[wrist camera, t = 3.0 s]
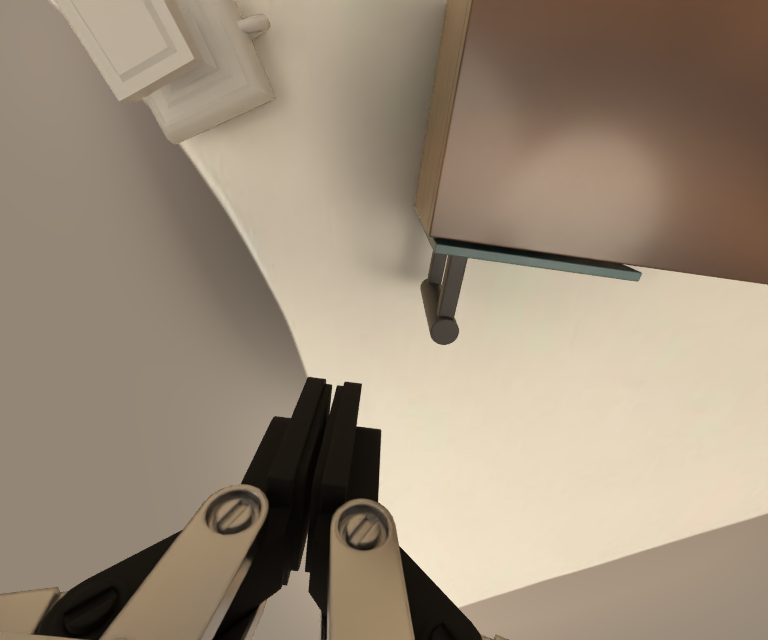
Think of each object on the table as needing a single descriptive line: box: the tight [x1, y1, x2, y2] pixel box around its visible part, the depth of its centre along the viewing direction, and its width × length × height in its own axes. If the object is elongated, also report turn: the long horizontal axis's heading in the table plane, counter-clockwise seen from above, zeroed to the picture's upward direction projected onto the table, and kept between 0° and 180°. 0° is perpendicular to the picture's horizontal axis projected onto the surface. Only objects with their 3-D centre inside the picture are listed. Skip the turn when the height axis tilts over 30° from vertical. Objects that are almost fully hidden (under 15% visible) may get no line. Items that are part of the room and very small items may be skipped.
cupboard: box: [414, 0, 768, 285], centre depth 18 cm, size 11×18×11 cm, turn 82°
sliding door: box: [419, 218, 642, 345], centre depth 21 cm, size 5×9×10 cm, turn 82°
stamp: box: [54, 0, 276, 144], centre depth 18 cm, size 9×7×8 cm
